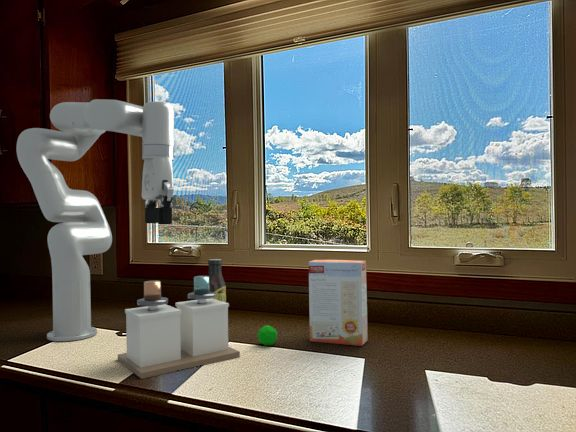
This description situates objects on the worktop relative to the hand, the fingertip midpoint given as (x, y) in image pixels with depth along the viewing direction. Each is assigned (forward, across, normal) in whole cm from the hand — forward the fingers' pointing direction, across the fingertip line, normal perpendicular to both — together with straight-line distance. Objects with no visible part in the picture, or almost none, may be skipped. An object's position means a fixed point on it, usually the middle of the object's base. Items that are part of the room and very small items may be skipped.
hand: (158, 223), depth 113 cm
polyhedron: (+31, +13, +24) cm, 41 cm away
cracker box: (+30, +21, +40) cm, 55 cm away
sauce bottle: (+31, -13, +22) cm, 40 cm away
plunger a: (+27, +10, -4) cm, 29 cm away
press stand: (+31, +10, +2) cm, 32 cm away
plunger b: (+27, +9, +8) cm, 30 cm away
